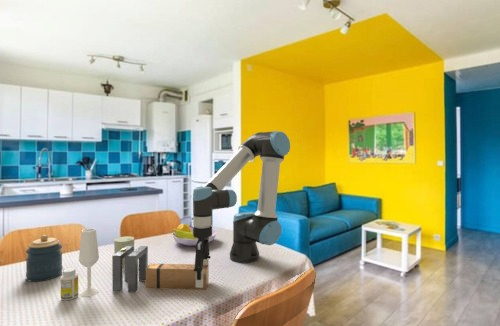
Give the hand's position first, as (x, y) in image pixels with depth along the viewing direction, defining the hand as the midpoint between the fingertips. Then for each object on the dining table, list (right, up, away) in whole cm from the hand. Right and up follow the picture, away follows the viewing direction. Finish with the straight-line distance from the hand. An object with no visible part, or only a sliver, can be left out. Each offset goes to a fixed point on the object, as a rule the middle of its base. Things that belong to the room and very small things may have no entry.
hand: (202, 280), depth 117 cm
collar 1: (-32, -2, +1) cm, 32 cm away
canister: (-70, -2, +10) cm, 70 cm away
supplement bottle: (-47, -3, -9) cm, 48 cm away
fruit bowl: (-15, -1, +58) cm, 60 cm away
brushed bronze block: (-10, -2, 0) cm, 10 cm away
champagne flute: (-42, -2, -5) cm, 43 cm away
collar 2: (-26, -2, +1) cm, 26 cm away
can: (-42, -2, +26) cm, 49 cm away
